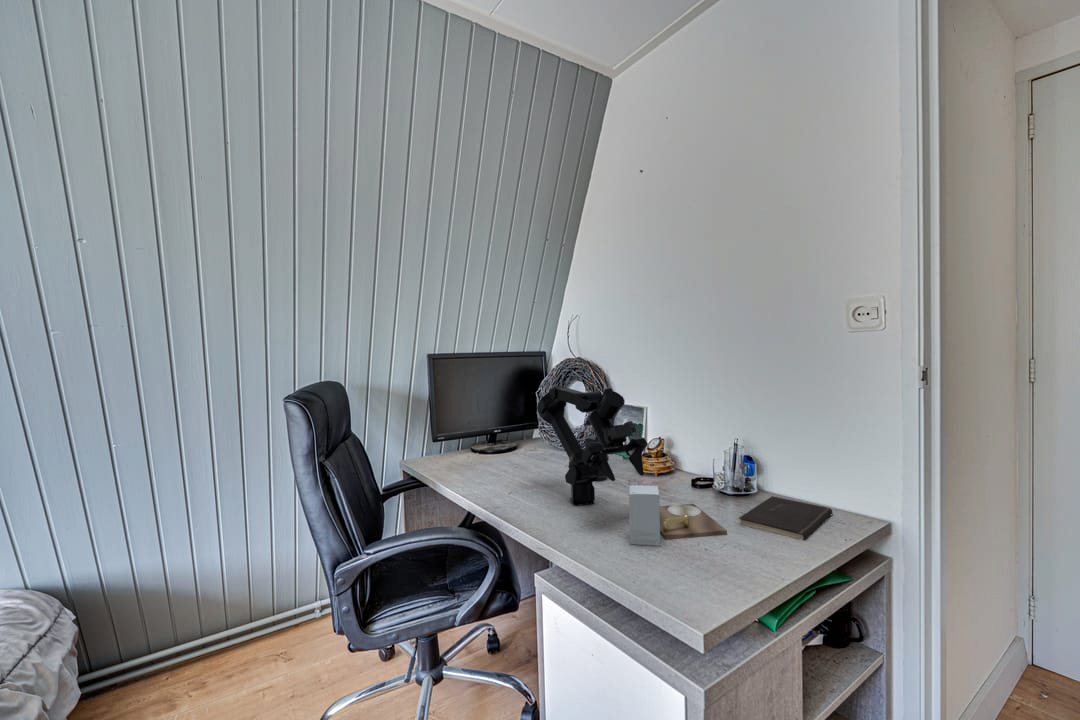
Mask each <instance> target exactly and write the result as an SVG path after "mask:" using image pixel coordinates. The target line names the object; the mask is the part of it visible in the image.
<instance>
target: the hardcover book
mask: <svg viewBox="0 0 1080 720" xmlns="http://www.w3.org/2000/svg"><path fill="white" fill-rule="evenodd" d="M831 514H832V515H833V510H832V508H830V507H827V506H822V505H817V504H811V503H807V502H802V501H797V500H793V499H787V498H784V497H783V498H782V497H777V496H770V497H769V498H767V499H766V500H763V501H762V502H761V503H760V504H757V505H756V506H755V507H753V508H751V509H750V510H749V511H747V512H746V513H744V514H743V515H741V516H739V517H738V520H740V521H739V523H740V526H745V527H749V528H753V529H757V530H761V531H763V532H770V533H773V534H776V535H781V536H784V537H787V536H788V537H789V538H791V537H792V539H795V538H796V540H799V539H802V540H801V541H803V540H805V539H806V538H807V537H808V536H809V535H810V534H811V535H812V534H813V533H814V532H816V531H817V530H818V529H817V528H818V527H819V526H820V525H821V524H822V523H823V522H824V521H825V520H826V519H827V518H828V517H829V516H830V515H831ZM832 515H831V516H832ZM831 516H830V517H831ZM830 517H829V518H830ZM829 518H828V519H829ZM828 519H827V520H828ZM827 520H826V521H827ZM826 521H825V522H826ZM825 522H824V523H825ZM824 523H823V524H824ZM823 524H822V525H823ZM822 525H821V526H822ZM821 526H820V527H821ZM820 527H819V528H820ZM811 535H810V536H811ZM810 536H809V537H810ZM809 537H808V538H809ZM808 538H807V539H808ZM807 539H806V540H807ZM806 540H805V541H806Z"/></svg>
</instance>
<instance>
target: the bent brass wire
mask: <svg viewBox="0 0 1080 720" xmlns="http://www.w3.org/2000/svg"><path fill="white" fill-rule="evenodd" d="M688 520H689V517H688V513H687V508H683V516H679V517H673V518H668V519H664V521H663V531H664V532H667V524H672V523H677V522H682V521H684V527H685V528H688Z"/></svg>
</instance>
